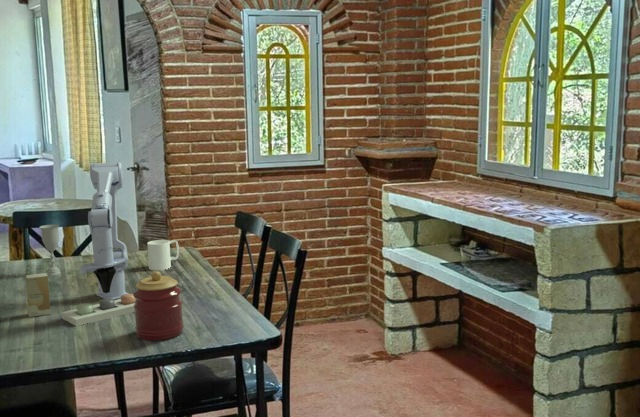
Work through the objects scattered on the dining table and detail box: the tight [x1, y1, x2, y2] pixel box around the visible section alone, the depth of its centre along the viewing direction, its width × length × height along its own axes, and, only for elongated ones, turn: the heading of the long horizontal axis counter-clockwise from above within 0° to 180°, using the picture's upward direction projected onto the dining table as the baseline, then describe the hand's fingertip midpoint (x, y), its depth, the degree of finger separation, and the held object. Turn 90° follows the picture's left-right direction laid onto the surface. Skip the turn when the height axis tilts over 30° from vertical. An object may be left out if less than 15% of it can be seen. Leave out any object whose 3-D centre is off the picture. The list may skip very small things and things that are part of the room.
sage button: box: [76, 302, 93, 316], centre depth 211 cm, size 4×4×3 cm
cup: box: [147, 239, 180, 272], centre depth 271 cm, size 8×12×10 cm
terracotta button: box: [120, 293, 135, 305], centre depth 220 cm, size 4×4×3 cm
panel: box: [61, 298, 135, 327], centre depth 216 cm, size 10×24×2 cm, turn 132°
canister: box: [132, 270, 184, 341], centre depth 195 cm, size 13×13×18 cm
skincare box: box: [25, 272, 51, 318], centre depth 216 cm, size 6×4×12 cm
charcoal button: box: [98, 298, 115, 310], centre depth 216 cm, size 4×4×3 cm
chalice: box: [39, 224, 61, 276], centre depth 265 cm, size 7×7×18 cm
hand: (106, 292), depth 215 cm, fingers closed
